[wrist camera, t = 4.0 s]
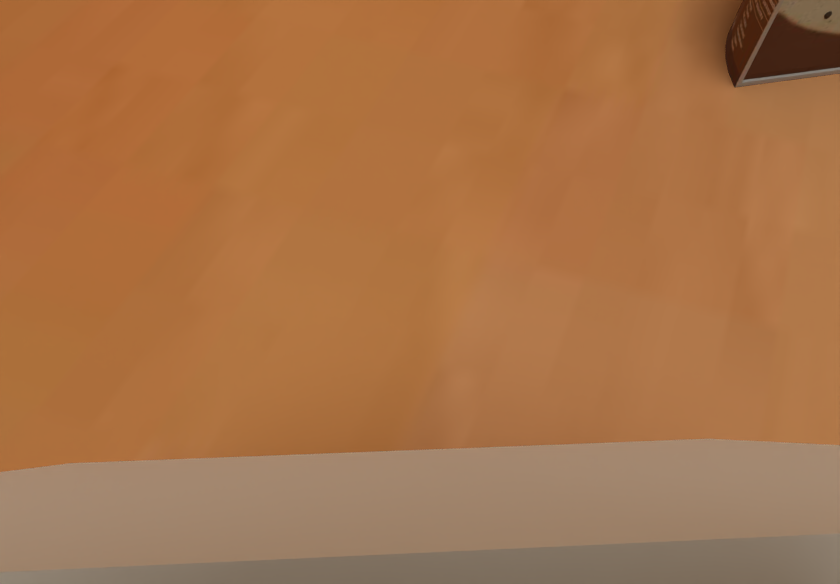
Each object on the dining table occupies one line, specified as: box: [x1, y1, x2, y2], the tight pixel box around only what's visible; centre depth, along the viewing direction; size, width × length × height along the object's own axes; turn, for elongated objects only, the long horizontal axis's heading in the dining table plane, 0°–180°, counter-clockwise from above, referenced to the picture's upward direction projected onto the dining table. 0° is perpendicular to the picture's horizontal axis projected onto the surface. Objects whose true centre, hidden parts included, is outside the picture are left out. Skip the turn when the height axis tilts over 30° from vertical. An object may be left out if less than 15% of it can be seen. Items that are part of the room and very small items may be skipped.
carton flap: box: [0, 439, 840, 584], centre depth 8 cm, size 11×13×1 cm
